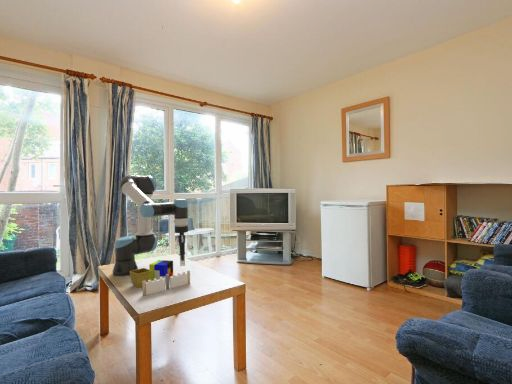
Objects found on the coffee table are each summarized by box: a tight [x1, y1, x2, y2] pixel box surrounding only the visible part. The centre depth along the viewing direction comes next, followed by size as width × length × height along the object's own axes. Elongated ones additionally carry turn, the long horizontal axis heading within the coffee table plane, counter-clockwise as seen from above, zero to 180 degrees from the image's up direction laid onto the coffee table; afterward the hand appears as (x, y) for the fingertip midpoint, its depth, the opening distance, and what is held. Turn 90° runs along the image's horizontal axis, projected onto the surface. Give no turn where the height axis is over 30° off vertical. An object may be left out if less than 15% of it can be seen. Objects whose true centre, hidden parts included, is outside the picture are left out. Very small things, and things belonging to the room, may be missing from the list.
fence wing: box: [169, 269, 191, 289], centre depth 152 cm, size 12×2×7 cm, turn 131°
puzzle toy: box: [148, 259, 174, 281], centre depth 166 cm, size 10×10×10 cm
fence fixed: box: [141, 274, 170, 297], centre depth 143 cm, size 14×2×8 cm, turn 131°
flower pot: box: [129, 267, 151, 288], centre depth 153 cm, size 9×9×9 cm
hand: (182, 265), depth 159 cm, fingers closed
